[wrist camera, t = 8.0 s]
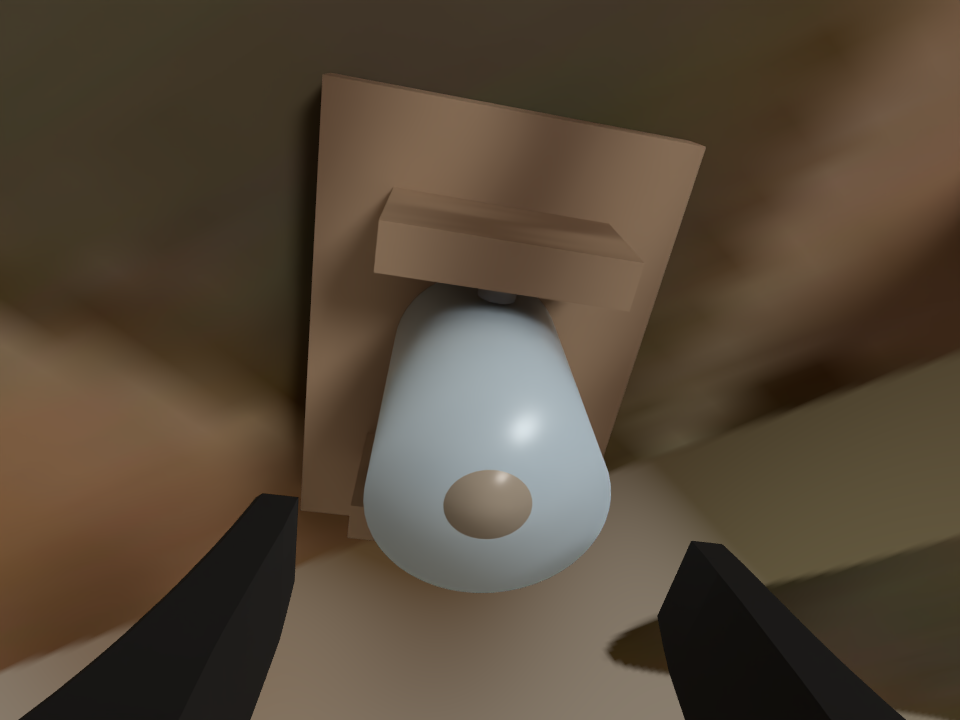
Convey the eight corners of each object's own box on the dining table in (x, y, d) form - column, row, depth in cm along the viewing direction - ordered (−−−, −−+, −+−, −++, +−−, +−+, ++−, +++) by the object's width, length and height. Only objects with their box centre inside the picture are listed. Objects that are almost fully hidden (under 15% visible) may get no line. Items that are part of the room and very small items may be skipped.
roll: (577, 290, 17) (645, 422, 11) (534, 430, 20) (572, 605, 13) (408, 258, 17) (381, 379, 11) (383, 406, 19) (349, 578, 13)
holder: (689, 141, 17) (767, 170, 13) (569, 517, 23) (595, 619, 19) (331, 72, 16) (287, 80, 11) (307, 488, 22) (273, 590, 18)
